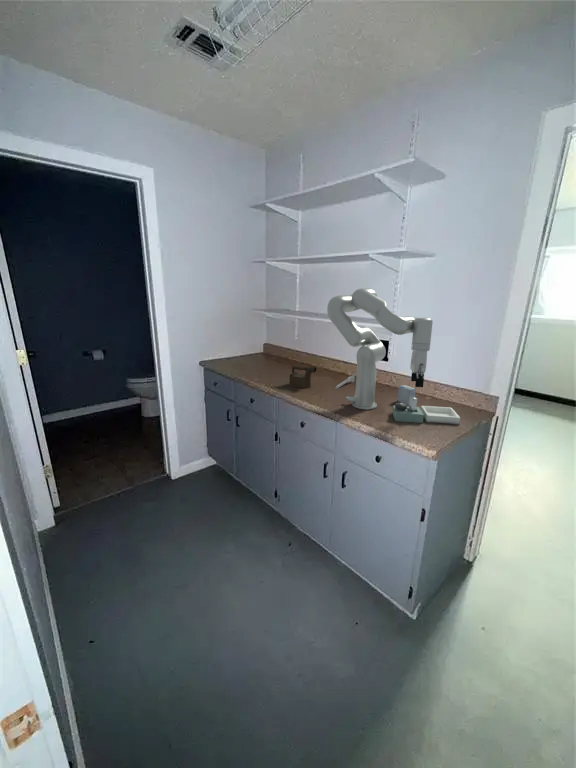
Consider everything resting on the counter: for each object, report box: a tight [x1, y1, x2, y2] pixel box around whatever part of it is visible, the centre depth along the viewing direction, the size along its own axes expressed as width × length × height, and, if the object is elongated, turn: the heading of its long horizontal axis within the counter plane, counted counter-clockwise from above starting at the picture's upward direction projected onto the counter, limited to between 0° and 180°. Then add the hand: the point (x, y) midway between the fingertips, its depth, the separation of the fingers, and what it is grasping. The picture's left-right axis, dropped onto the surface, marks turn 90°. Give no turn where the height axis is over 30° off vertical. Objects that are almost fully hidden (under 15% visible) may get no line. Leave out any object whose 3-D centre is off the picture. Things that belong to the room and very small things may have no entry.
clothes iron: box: [289, 364, 317, 389], centre depth 200 cm, size 8×16×13 cm, turn 56°
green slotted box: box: [391, 402, 424, 424], centre depth 154 cm, size 12×10×7 cm
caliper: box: [334, 372, 355, 390], centre depth 204 cm, size 20×1×6 cm, turn 137°
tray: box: [420, 405, 461, 425], centre depth 155 cm, size 14×13×3 cm
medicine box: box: [397, 384, 417, 406], centre depth 174 cm, size 8×4×9 cm, turn 26°
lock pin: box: [408, 396, 418, 412], centre depth 153 cm, size 3×3×10 cm
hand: (416, 384), depth 150 cm, fingers open, 9 cm apart
